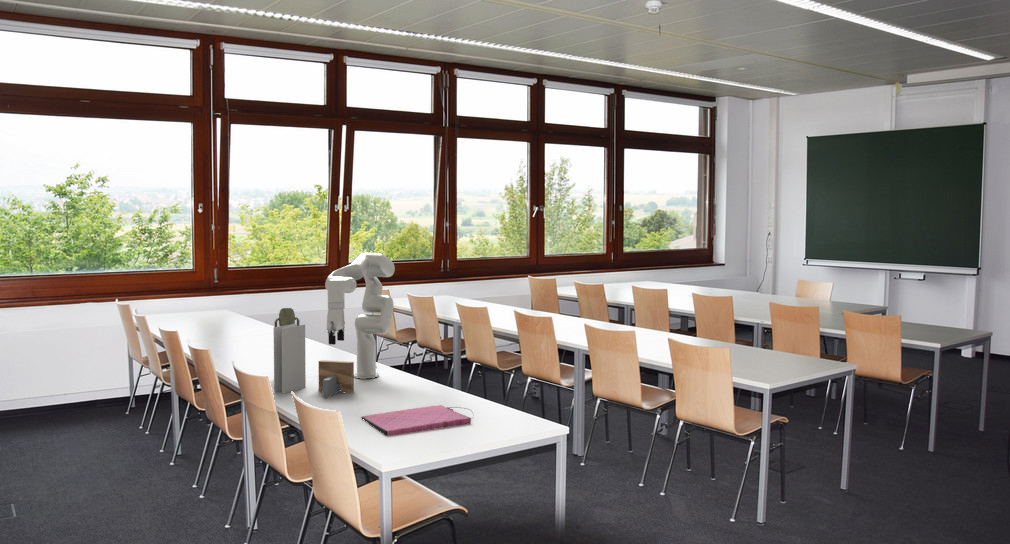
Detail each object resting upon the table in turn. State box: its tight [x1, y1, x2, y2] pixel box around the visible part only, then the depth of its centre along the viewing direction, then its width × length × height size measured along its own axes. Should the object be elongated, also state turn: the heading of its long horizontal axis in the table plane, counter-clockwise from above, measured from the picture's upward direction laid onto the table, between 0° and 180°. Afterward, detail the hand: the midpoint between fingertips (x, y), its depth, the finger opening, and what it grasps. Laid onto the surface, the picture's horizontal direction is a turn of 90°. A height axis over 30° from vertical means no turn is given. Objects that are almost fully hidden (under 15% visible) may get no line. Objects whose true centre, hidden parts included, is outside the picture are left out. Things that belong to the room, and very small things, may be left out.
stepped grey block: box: [322, 375, 341, 399], centre depth 348 cm, size 24×2×8 cm, turn 169°
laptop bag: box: [360, 404, 475, 437], centre depth 302 cm, size 40×4×27 cm
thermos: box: [274, 307, 300, 327], centre depth 371 cm, size 9×12×35 cm
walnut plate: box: [318, 359, 355, 394], centre depth 347 cm, size 3×16×14 cm, turn 79°
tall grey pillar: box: [273, 323, 307, 394], centre depth 349 cm, size 14×6×30 cm, turn 149°
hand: (336, 342), depth 346 cm, fingers open, 9 cm apart
